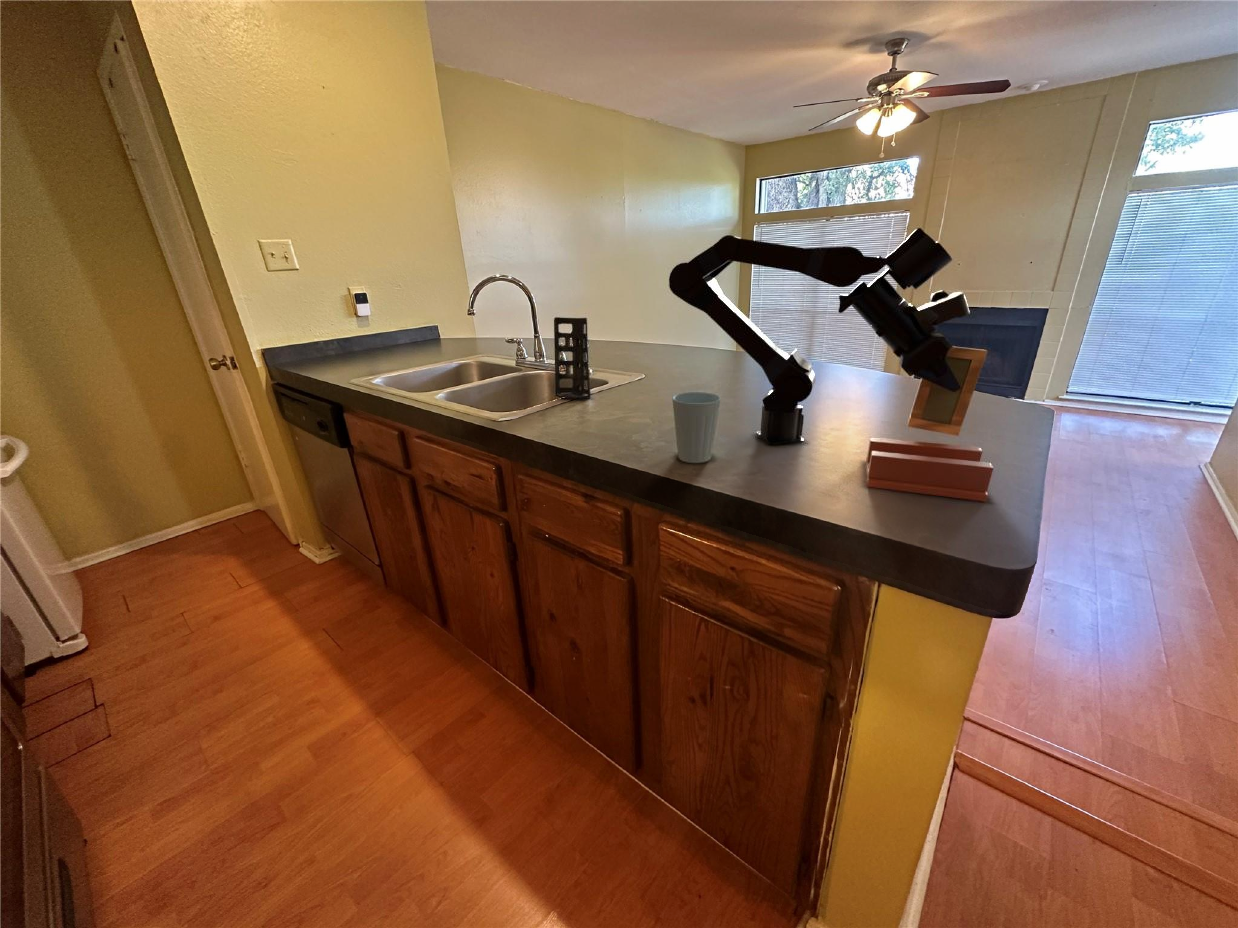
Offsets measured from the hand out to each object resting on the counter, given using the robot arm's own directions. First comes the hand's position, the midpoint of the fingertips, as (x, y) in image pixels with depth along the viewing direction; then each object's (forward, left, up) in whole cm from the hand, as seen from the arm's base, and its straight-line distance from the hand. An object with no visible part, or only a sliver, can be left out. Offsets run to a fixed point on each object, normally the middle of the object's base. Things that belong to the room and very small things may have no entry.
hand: (955, 387), depth 74 cm
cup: (-39, +8, -11) cm, 41 cm away
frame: (-2, +1, -7) cm, 7 cm away
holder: (-56, +59, -11) cm, 82 cm away
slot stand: (-10, -8, -11) cm, 17 cm away
